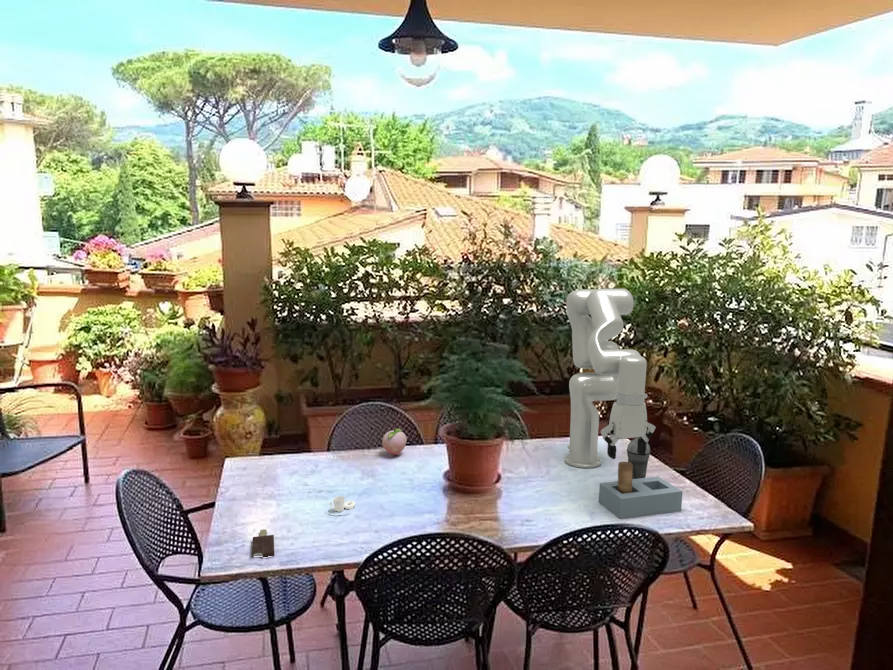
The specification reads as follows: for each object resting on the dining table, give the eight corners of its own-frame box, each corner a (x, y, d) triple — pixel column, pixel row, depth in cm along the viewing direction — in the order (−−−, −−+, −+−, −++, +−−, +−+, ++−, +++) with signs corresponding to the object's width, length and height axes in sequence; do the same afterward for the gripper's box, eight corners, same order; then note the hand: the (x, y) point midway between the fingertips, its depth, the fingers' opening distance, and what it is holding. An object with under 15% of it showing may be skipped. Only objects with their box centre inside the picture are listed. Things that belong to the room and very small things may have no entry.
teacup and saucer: (355, 504, 197) (354, 491, 196) (357, 516, 189) (357, 502, 188) (324, 507, 195) (324, 494, 194) (325, 518, 187) (325, 505, 187)
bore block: (598, 502, 199) (599, 483, 198) (656, 494, 205) (657, 476, 204) (620, 519, 188) (621, 498, 187) (681, 510, 194) (682, 491, 193)
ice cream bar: (253, 534, 178) (252, 561, 163) (253, 528, 177) (251, 555, 163) (273, 531, 179) (274, 558, 165) (273, 526, 179) (274, 552, 164)
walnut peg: (614, 501, 196) (615, 462, 194) (626, 499, 197) (627, 460, 195) (622, 506, 192) (623, 466, 190) (634, 505, 193) (635, 465, 192)
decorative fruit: (387, 449, 243) (387, 423, 242) (409, 452, 241) (409, 425, 240) (378, 458, 234) (378, 430, 233) (400, 460, 232) (400, 433, 231)
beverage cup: (649, 491, 208) (653, 429, 204) (625, 489, 209) (628, 427, 206) (647, 482, 215) (651, 422, 211) (623, 480, 216) (627, 420, 213)
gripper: (649, 393, 196) (645, 448, 199) (596, 397, 191) (593, 454, 194) (664, 400, 189) (660, 457, 192) (610, 404, 184) (606, 463, 187)
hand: (626, 455), depth 193 cm, fingers open, 9 cm apart
